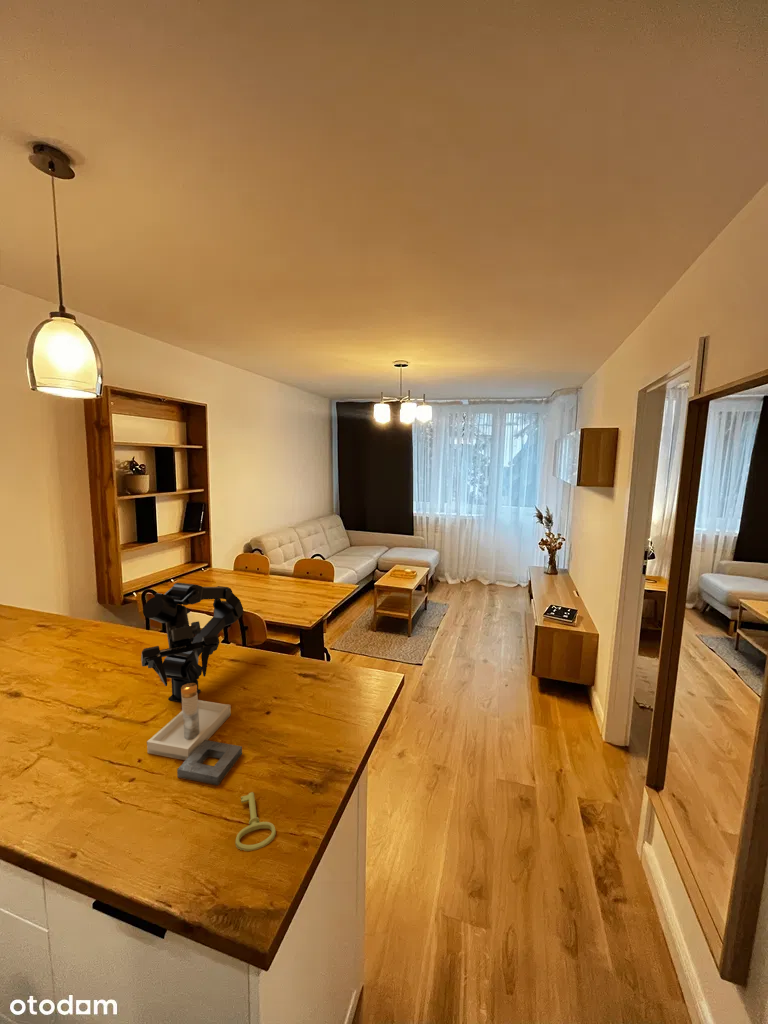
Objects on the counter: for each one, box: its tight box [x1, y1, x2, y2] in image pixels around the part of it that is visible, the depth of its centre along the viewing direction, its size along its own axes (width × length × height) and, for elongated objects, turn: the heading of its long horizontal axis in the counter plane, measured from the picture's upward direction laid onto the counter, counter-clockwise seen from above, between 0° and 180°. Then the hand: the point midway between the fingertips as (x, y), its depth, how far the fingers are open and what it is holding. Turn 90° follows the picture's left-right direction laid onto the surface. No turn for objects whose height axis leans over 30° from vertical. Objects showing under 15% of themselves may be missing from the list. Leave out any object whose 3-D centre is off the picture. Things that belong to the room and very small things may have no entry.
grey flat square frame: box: [176, 739, 243, 786], centre depth 98 cm, size 10×10×2 cm
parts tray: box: [146, 699, 232, 761], centre depth 109 cm, size 11×18×3 cm, turn 168°
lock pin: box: [181, 683, 200, 740], centre depth 106 cm, size 4×4×13 cm
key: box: [235, 791, 277, 852], centre depth 82 cm, size 7×12×2 cm, turn 41°
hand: (186, 680), depth 110 cm, fingers open, 9 cm apart
